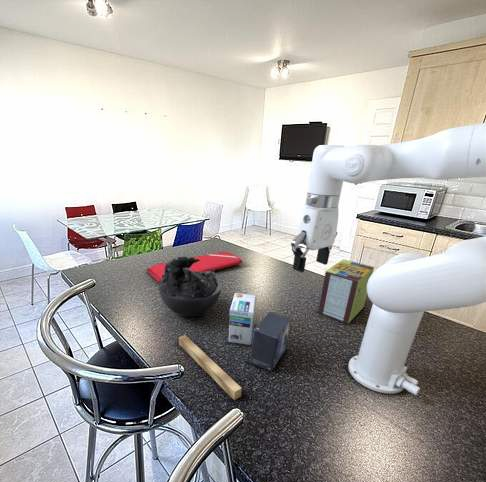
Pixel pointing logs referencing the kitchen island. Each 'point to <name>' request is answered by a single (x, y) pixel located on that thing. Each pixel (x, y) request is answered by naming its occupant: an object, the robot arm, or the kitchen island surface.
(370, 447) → the kitchen island surface
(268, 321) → the small box
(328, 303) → the protein box
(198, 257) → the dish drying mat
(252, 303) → the light bulb box
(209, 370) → the maple rail
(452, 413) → the kitchen island surface
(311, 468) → the kitchen island surface
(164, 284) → the coal bowl
